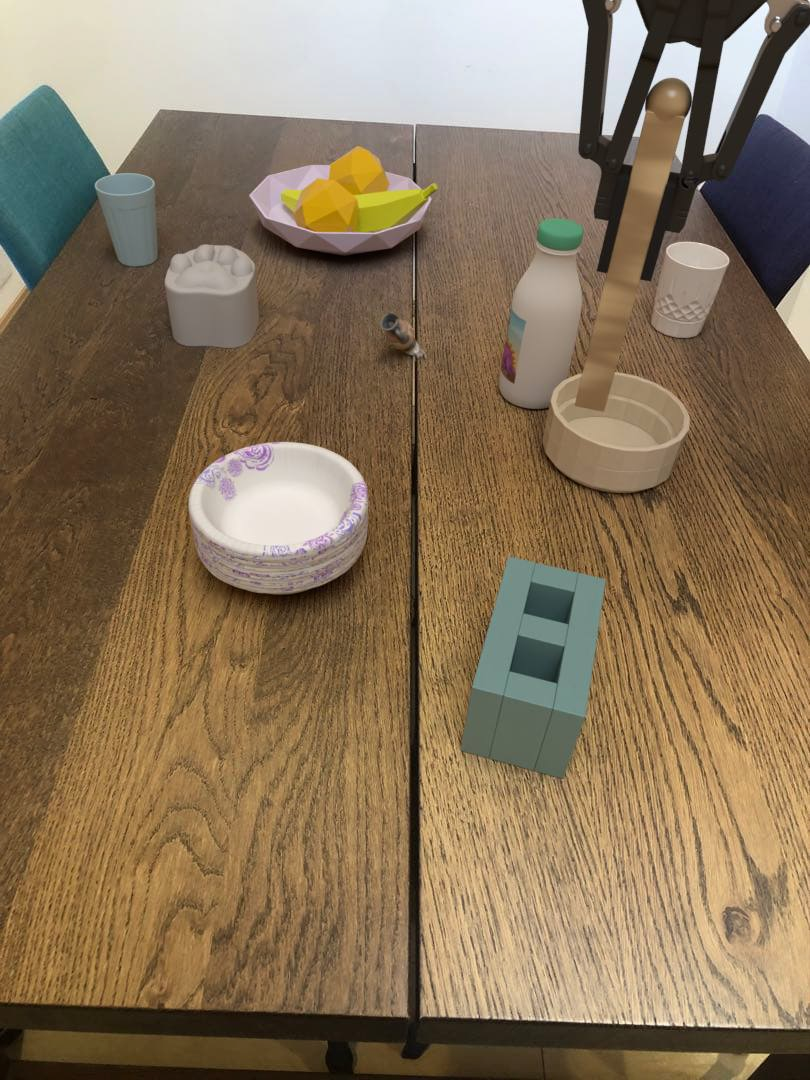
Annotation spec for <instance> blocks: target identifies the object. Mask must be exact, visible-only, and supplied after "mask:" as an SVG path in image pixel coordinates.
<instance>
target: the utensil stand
mask: <svg viewBox="0 0 810 1080" xmlns="http://www.w3.org/2000/svg"><path fill="white" fill-rule="evenodd" d="M606 582H607V579H606V578H602V577H599V576H594V575H589V574H586V573H582V572H577V571H573V570H569V569H564V568H561V567H556V566H552V565H547V564H544V563H541V562H540V563H539V562H535V561H530V560H527V559H522V558H518V557H514V556H509V555H508V556H507V560H506V563H505V567H504V571H503V573H502V577H501V581H500V585H499V588H498V592H497V595H496V598H495V603H494V606H493V610H492V613H491V616H490V619H489V624H488V628H487V631H486V635H485V639H484V642H483V646H482V649H481V653H480V656H479V660H478V663H477V668H476V670H475V675H474V678H473V682H472V685H471V689H470V695H469V702H468V706H467V712H466V716H465V722H464V727H463V732H462V733H463V734H462V739H461V744H460V748H459V750H460V751H461V752H464V753H467V754H468V753H469V754H470V755H471V754H472V755H475V756H478V757H482V758H486V759H489V760H493V761H497V762H500V763H503V764H507V765H512V766H515V767H518V768H521V769H525V770H529V771H532V772H533V771H534V772H536V773H540V774H543V775H547V776H550V777H554V778H558V779H562V780H563V779H564V778H565V775H566V773H567V770H568V768H569V765H570V761H571V759H572V756H573V754H574V751H575V748H576V745H577V743H578V739H579V736H580V734H581V732H582V728H583V726H584V723H585V720H586V718H587V710H588V706H589V705H588V704H589V697H590V691H591V684H592V678H593V677H592V676H593V671H594V664H595V657H596V650H597V643H598V638H599V637H598V636H599V629H600V623H601V616H602V609H603V603H604V596H605V589H606Z"/></svg>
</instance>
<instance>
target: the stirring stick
mask: <svg viewBox="0 0 810 1080" xmlns="http://www.w3.org/2000/svg"><path fill="white" fill-rule="evenodd" d="M692 99H693V94H692V92H691V88H690V87H689V86H688V84H687V83H686V82H685V81H684V80H682V79H681V78H678V77H667V78H663V79H661V80H660V81H658V82H656V83H655V84H654V85H653V86H651V87H650V89H649V92H648V95H647V98H646V100H645V103H644V111H645V114H644V118H643V123H642V126H641V130H640V134H639V139H638V143H637V148H636V151H635V154H634V159H633V164H632V165H633V167H632V171H631V175H630V181H629V186H628V190H627V194H626V198H625V202H624V206H623V210H622V214H621V218H620V222H619V226H618V231H617V235H616V239H615V243H614V247H613V251H612V255H611V259H610V263H609V267H608V272H607V273H605V279H604V281H603V287H602V291H601V296H600V299H599V303H598V306H597V312H596V316H595V320H594V322H593V328H592V332H591V336H590V341H589V345H588V348H587V352H586V356H585V360H584V365H583V369H582V373H581V374H582V377H581V381H580V385H579V389H578V393H577V397H576V401H575V406H578V407H582V408H587V409H592V410H596V411H601V412H604V410H605V407H606V403H607V400H608V396H609V392H610V389H611V385H612V381H613V378H614V374H615V372H616V371H617V368H618V367H617V366H618V364H619V359H620V355H621V352H622V348H623V344H624V342H625V337H626V335H627V330H628V327H629V323H630V319H631V315H632V312H633V309H634V305H635V302H636V297H637V294H638V291H639V287H640V283H641V280H640V278H641V275H642V271H643V267H644V264H645V260H646V256H647V253H648V249H649V245H650V242H651V238H652V235H653V231H654V227H655V224H656V220H657V216H658V213H659V209H660V205H661V202H662V198H663V194H664V191H665V187H666V184H667V181H668V178H669V174H670V172H672V171H671V170H672V167H673V163H674V159H675V157H676V156H675V155H676V152H677V148H678V145H679V142H680V137H681V133H682V131H683V126H684V123H685V119H686V118H687V116H688V115H689V114H690V112H691V105H692Z"/></svg>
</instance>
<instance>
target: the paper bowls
mask: <svg viewBox="0 0 810 1080" xmlns="http://www.w3.org/2000/svg"><path fill="white" fill-rule="evenodd" d="M368 492H369V491H368V487H367V483H366V480H365V479H364V477H363V476H362V474H361V473H360V471H359V470H358V469H357V467H356V466H354V465H353V464H352V463H351V462H350V461H349V460H348V459H346V458H344V457H343V456H342V455H340V454H338V453H336V452H335V451H331V450H329V449H327V448H325V447H322V446H318V445H314V444H311V443H310V444H309V443H302V442H294V441H271V442H263V443H258V444H254V445H250V446H245V447H243V448H239V449H236V450H233V451H232V452H230V453H228V454H225V455H223V456H222V457H219V458H218V459H215V461H214V462H212V463H211V464H209V466H207V467H206V468H205V469H204V470H203V471H202V472H200V474H199V476H198V477H197V478H196V480H195V481H194V483H193V484H192V487H191V489H190V491H189V496H188V503H187V505H188V507H187V508H188V513H189V519H190V526H191V530H192V534H193V542H194V546H195V549H196V553H197V555H198V557H199V560H200V562H201V563H202V564H203V566H204V567H205V568H206V570H208V572H209V573H211V575H213V577H215V578H217V579H218V580H220V581H221V582H224V583H226V584H228V585H230V586H232V587H235V588H238V589H241V590H245V591H248V592H251V593H257V594H268V595H281V596H282V595H294V594H298V593H302V592H305V591H309V590H312V589H315V588H318V587H320V586H323V585H325V584H327V583H329V582H331V581H333V580H336V579H337V578H338V577H340V576H342V575H343V574H345V573H346V572H347V571H348V570H350V569H351V568H352V567H353V565H355V563H356V562H357V560H358V559H359V558H360V557H361V554H362V553H363V550H364V548H365V545H366V542H367V538H368V527H369V502H370V501H369V493H368Z"/></svg>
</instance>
